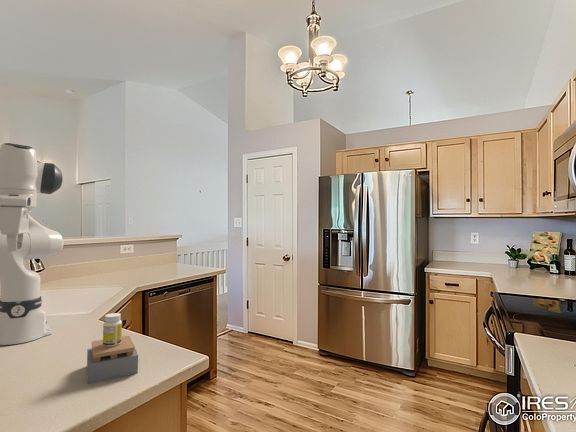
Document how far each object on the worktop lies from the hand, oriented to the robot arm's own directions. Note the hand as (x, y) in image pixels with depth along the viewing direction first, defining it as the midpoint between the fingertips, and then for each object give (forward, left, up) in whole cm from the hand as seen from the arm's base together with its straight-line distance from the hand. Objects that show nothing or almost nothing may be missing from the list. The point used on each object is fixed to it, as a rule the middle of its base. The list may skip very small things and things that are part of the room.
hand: (15, 249), depth 91 cm
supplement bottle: (+12, +24, -27) cm, 38 cm away
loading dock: (+12, +24, -34) cm, 43 cm away
